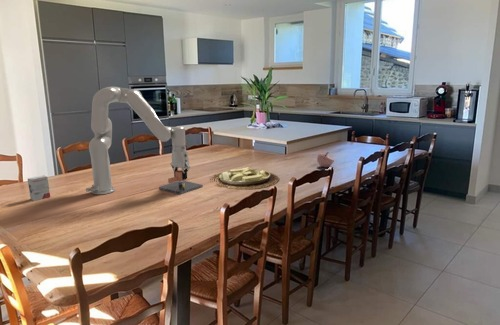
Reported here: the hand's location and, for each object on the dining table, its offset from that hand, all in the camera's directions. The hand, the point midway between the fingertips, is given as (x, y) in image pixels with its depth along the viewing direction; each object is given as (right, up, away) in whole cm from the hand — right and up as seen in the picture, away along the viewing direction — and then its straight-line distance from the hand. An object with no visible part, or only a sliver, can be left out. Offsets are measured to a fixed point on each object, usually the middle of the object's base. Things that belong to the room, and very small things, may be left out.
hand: (180, 177), depth 217 cm
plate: (+37, -2, +20) cm, 42 cm away
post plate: (0, -6, +1) cm, 6 cm away
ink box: (-73, -11, -16) cm, 76 cm away
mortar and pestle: (+95, +5, +50) cm, 108 cm away
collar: (-2, -2, -2) cm, 3 cm away
